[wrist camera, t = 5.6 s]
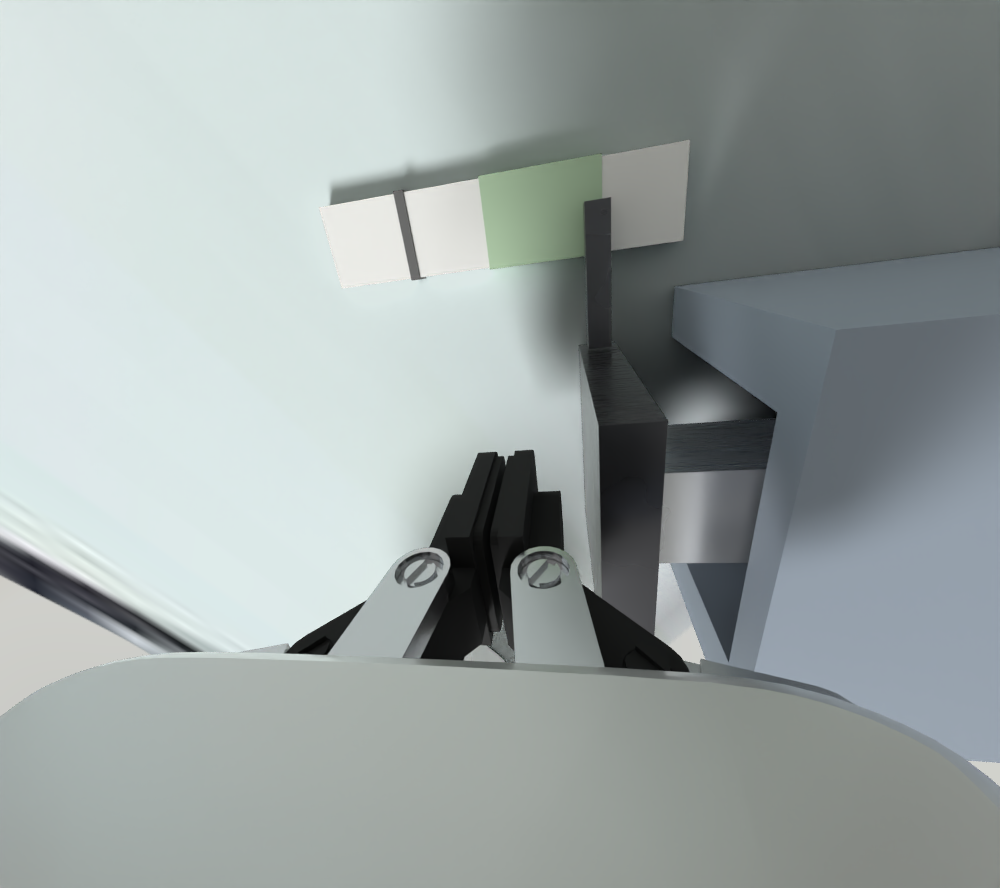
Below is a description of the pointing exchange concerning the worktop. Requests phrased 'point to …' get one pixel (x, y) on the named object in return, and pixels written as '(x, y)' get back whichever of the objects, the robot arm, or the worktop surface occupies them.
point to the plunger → (654, 462)
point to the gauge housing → (793, 431)
